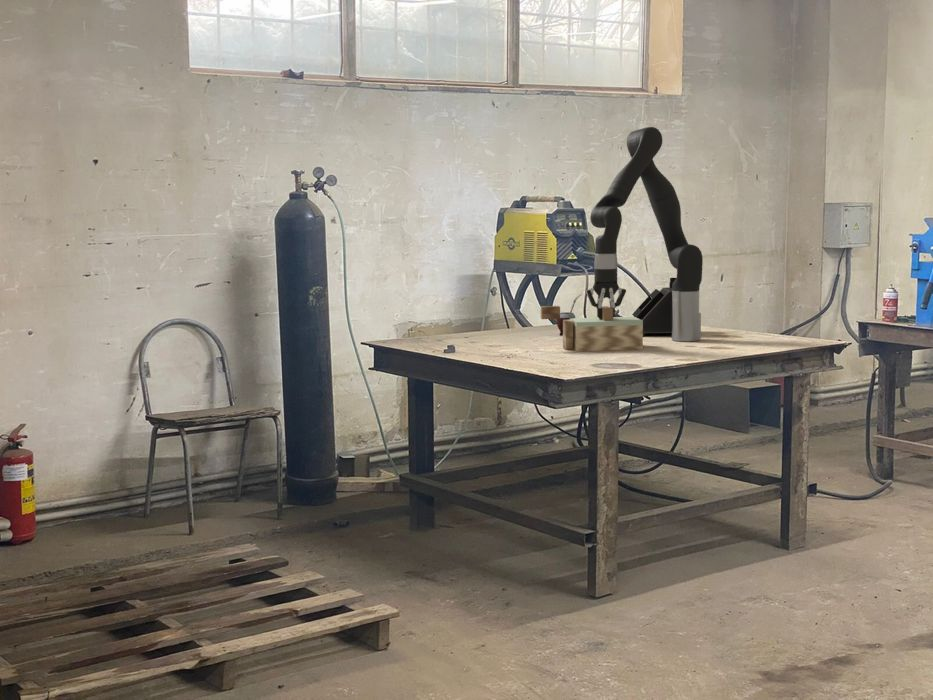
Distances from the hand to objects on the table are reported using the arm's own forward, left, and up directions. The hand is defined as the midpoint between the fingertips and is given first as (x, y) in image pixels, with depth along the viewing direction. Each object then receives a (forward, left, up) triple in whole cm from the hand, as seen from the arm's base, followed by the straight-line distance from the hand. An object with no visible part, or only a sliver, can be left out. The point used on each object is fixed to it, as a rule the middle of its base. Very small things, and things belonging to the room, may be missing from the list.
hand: (605, 319), depth 376 cm
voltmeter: (-26, -34, -10) cm, 44 cm away
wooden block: (+19, 0, +1) cm, 19 cm away
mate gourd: (+6, -38, -10) cm, 39 cm away
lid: (0, 0, -2) cm, 2 cm away
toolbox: (+2, 0, -10) cm, 10 cm away
